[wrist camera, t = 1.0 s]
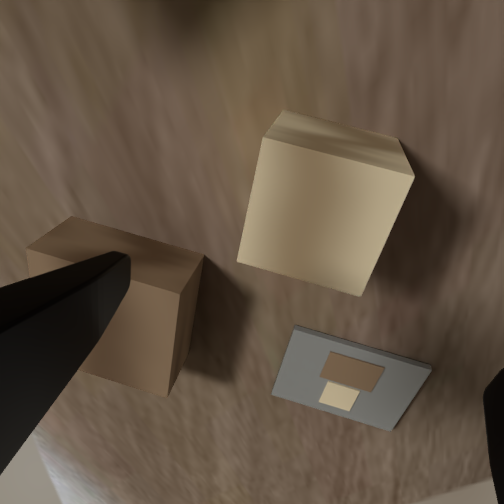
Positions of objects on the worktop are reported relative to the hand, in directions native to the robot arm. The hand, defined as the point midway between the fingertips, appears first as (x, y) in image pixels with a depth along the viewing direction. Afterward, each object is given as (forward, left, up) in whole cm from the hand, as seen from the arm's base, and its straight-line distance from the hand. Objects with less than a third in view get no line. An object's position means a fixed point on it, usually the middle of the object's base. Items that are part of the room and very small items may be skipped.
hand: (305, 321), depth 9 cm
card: (-5, +12, -10) cm, 17 cm away
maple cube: (0, 0, -10) cm, 10 cm away
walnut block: (+9, +10, -11) cm, 17 cm away
